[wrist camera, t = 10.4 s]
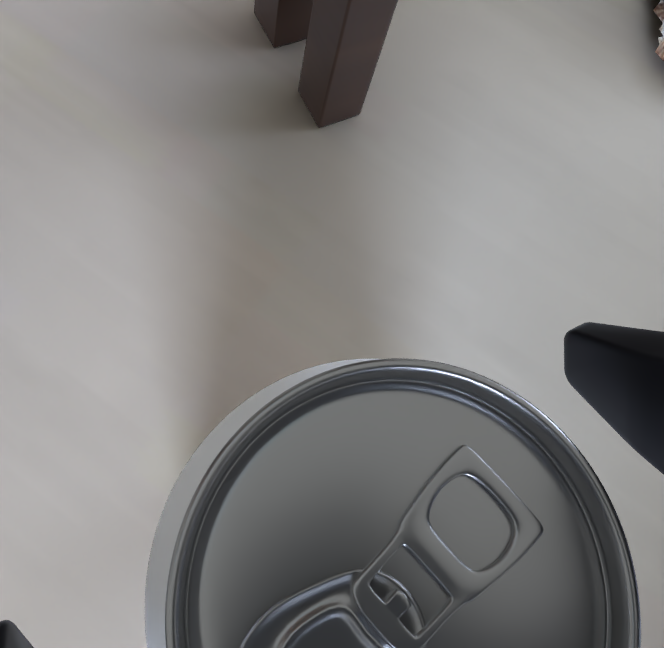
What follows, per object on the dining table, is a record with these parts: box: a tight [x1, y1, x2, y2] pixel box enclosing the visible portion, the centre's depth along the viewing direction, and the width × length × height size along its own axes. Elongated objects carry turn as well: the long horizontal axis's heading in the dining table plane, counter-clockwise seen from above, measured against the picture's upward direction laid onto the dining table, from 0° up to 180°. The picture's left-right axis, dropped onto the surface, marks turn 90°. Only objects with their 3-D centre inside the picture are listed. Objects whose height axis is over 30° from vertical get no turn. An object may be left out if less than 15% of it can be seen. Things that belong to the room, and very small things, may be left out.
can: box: [145, 359, 641, 648], centre depth 13 cm, size 6×6×12 cm
